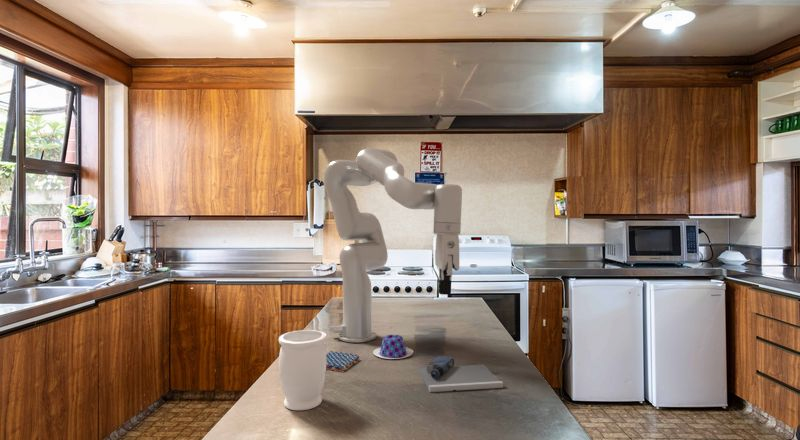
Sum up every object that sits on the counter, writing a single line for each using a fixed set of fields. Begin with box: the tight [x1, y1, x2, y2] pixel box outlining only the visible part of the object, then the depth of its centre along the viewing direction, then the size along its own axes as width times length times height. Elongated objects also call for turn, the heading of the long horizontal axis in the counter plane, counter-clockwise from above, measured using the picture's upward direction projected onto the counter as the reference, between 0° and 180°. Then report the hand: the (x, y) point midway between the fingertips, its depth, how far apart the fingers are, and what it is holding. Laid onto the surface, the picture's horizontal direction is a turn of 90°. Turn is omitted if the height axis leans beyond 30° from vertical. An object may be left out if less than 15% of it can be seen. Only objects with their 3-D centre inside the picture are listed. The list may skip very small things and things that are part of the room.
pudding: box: [372, 334, 414, 360], centre depth 131 cm, size 12×12×5 cm
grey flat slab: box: [418, 364, 504, 393], centre depth 111 cm, size 18×14×1 cm
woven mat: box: [326, 350, 361, 373], centre depth 122 cm, size 10×11×2 cm
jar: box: [278, 329, 327, 411], centre depth 97 cm, size 11×10×15 cm
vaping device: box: [426, 355, 455, 379], centre depth 114 cm, size 3×5×12 cm
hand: (444, 293), depth 123 cm, fingers closed
